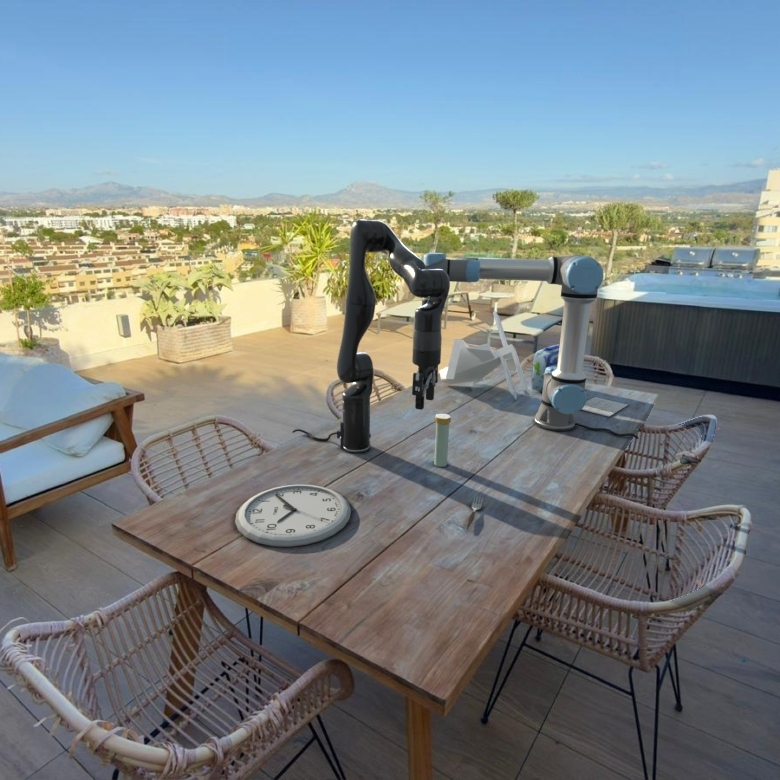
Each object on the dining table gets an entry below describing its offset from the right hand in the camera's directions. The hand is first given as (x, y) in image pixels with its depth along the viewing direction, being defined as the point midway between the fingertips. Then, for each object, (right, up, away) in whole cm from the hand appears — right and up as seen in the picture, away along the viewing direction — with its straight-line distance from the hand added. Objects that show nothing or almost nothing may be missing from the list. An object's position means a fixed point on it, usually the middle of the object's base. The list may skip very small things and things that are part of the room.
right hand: (430, 357), depth 190 cm
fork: (+7, -45, -51) cm, 69 cm away
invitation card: (+77, -19, +37) cm, 87 cm away
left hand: (-5, -16, -46) cm, 49 cm away
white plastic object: (+27, -13, +54) cm, 61 cm away
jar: (+2, -36, -21) cm, 41 cm away
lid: (+2, -20, -25) cm, 33 cm away
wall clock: (-40, -45, -51) cm, 79 cm away
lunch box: (+63, -12, +60) cm, 88 cm away
